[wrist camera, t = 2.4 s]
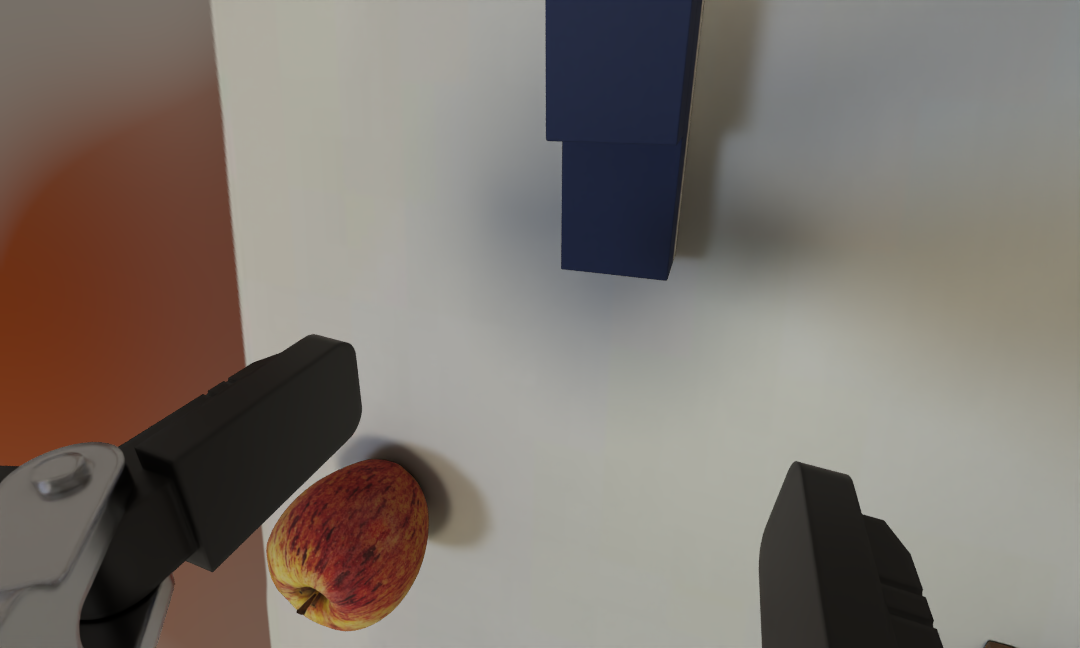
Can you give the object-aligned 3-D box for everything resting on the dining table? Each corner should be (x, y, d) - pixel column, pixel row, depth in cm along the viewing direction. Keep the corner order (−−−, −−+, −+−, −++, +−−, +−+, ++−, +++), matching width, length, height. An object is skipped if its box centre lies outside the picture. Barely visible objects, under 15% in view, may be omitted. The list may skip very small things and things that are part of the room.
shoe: (587, -2, 20) (544, -20, 16) (705, -8, 19) (695, -28, 14) (580, 246, 24) (546, 287, 20) (675, 255, 23) (660, 300, 19)
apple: (480, 497, 35) (397, 639, 26) (420, 550, 39) (334, 683, 31) (375, 410, 34) (257, 525, 26) (327, 474, 39) (215, 588, 31)
